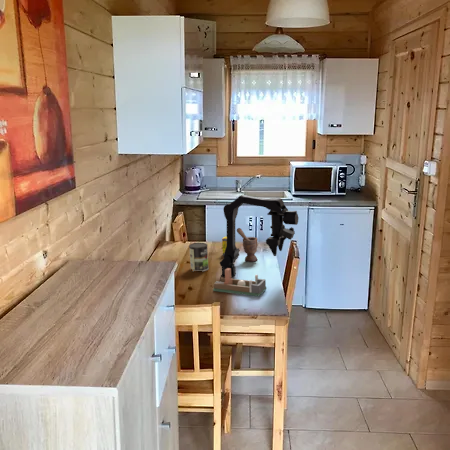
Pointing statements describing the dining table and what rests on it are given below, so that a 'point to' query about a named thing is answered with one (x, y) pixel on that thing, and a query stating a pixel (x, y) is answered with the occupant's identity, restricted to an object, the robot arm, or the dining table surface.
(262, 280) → the pitch
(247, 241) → the mortar and pestle
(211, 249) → the dining table surface
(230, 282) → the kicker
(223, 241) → the supplement box
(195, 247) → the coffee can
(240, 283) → the ball
